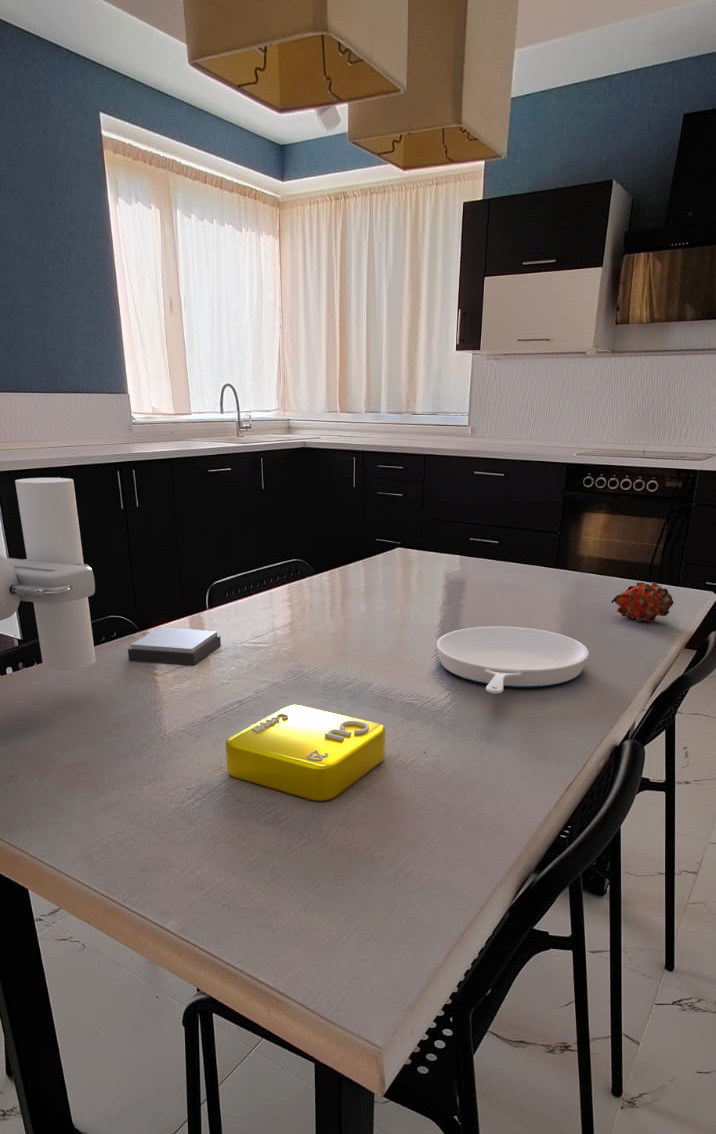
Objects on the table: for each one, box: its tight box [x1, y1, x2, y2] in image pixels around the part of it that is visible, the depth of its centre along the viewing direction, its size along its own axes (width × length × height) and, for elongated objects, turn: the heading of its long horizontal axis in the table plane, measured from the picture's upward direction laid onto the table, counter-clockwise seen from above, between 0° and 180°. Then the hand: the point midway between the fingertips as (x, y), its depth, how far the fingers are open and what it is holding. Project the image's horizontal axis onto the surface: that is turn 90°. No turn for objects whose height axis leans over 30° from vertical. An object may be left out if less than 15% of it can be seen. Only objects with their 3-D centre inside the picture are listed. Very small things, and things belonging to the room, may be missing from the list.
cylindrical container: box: [14, 477, 96, 671], centre depth 106 cm, size 7×7×25 cm
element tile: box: [224, 704, 386, 802], centre depth 93 cm, size 15×15×5 cm
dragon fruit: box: [611, 581, 675, 623], centre depth 158 cm, size 8×8×12 cm
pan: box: [435, 625, 590, 694], centre depth 123 cm, size 25×38×5 cm, turn 164°
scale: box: [127, 627, 222, 666], centre depth 135 cm, size 12×12×3 cm
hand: (60, 567), depth 106 cm, fingers closed on cylindrical container, 7 cm apart
